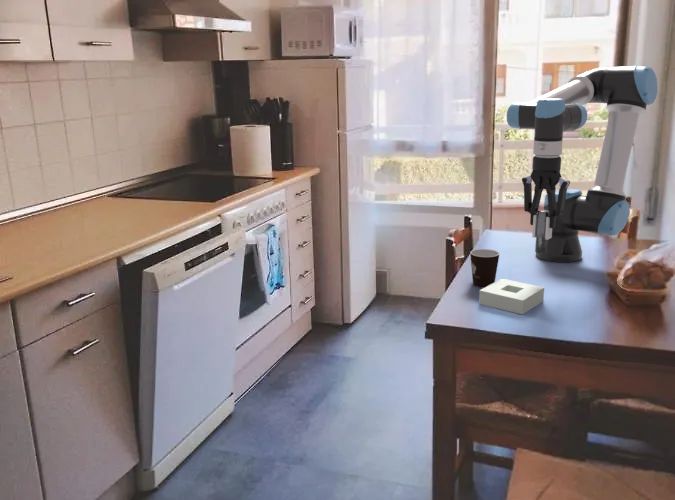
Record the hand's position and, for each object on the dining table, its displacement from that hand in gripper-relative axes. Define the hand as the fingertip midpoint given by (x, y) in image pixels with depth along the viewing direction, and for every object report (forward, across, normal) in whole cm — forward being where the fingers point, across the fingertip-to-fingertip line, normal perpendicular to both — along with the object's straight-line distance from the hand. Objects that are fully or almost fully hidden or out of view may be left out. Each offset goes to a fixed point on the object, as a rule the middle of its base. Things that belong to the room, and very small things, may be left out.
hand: (541, 237), depth 181 cm
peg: (+4, 0, 0) cm, 4 cm away
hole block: (+16, -2, -13) cm, 21 cm away
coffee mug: (+17, -17, -3) cm, 24 cm away
